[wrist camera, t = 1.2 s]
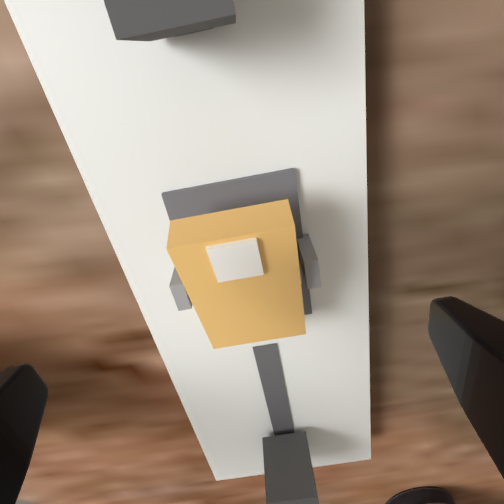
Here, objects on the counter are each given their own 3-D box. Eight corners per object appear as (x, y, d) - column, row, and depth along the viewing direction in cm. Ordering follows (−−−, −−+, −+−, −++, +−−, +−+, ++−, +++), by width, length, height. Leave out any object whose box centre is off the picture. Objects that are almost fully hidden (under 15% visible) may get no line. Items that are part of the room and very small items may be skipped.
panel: (217, 454, 29) (214, 516, 25) (-27, -140, 12) (-155, -230, 8) (362, 434, 28) (382, 494, 25) (340, -233, 11) (396, -383, 7)
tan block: (211, 322, 19) (211, 353, 17) (167, 220, 14) (162, 253, 12) (302, 307, 18) (309, 337, 17) (290, 198, 13) (299, 229, 12)
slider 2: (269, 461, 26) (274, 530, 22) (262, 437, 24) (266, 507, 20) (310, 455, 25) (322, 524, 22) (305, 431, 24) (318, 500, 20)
